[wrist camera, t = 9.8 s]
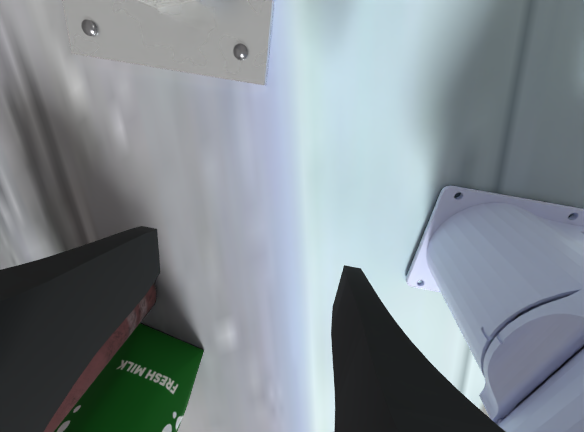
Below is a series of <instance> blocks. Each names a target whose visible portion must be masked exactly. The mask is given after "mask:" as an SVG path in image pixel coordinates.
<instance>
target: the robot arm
mask: <svg viewBox="0 0 584 432" xmlns="http://www.w3.org/2000/svg"><path fill="white" fill-rule="evenodd" d="M458 192H461V195H460V196H459V197H457V198H454V195H455V194H456V193H458ZM572 213H573V215H572V216H571V217H569V215H570V214H572ZM568 217H569V218H568ZM159 273H160V264H159V250H158V237H157V229H154V228H148V227H143V226H141V227H137V228H133V229H130V230H127V231H124V232H121V233H118V234H115V235H112V236H109V237H107V238H104V239H101V240H98V241H95V242H92V243H90V244H87V245H84V246H81V247H78V248H75V249H72V250H69V251H65V252H62V253H59V254H56V255H53V256H50V257H47V258H43V259H40V260H37V261H33V262H29V263H26V264H22V265H18V266H14V267H10V268H6V269H2V270H0V432H44V430H45V429H46V427H47V426H48V424H49V422H50V421H51V419H52V417H53V416H54V414H55V413H56V411H57V410H58V408H59V407H60V405H61V404H62V402H63V401H64V399H65V398H66V396H67V395H68V393H69V392H70V390H71V389H72V387H73V386H74V384H75V383H76V381H77V380H78V379H79V377H80V376H81V374H82V373H83V371H84V370H85V369H86V367H87V366H88V364H89V363H90V362H91V360H92V359H93V357H94V356H95V355H96V353H97V352H98V351H99V350H100V348H101V347H102V346H103V345H104V343H105V342H106V341H107V340H108V339H109V338H110V336H111V335H112V334H113V333H114V332H115V331H116V329H117V328H118V327H119V326H120V325H121V324H122V322H123V321H124V320H125V319H126V318H127V317H128V315H129V314H130V313H131V312H132V311H133V309H134V308H135V307H136V306H137V305H138V304H139V302H140V301H141V300H142V299H143V298H144V296H145V295H146V294H147V292H148V291H149V289H150V288H151V286H152V285H153V283H154V282H155V280H156V278H157V277H158V275H159ZM420 280H422V282H420V283H418V281H420ZM406 282H407V284H408V285H409V286H411V287H415V288H420V289H426V290H431V291H436V292H441V294H442V296H443V297H444V299H445V301H446V303H447V305H448V307H449V309H450V311H451V313H452V315H453V317H454V319H455V321H456V323H457V325H458V327H459V329H460V331H461V333H462V334H463V336H464V338H465V340H466V342H467V344H468V346H469V348H470V350H471V352H472V354H473V356H474V358H475V360H476V362H477V364H478V366H479V368H480V370H481V371H482V373H483V375H484V377H485V387H484V389H483V391H482V392H481V393H480V395H479V396H480V398H481V400H482V402H483V404H484V407H485V409H486V411H487V413H488V415H489V417H490V418H489V417H488V416H487V415H485V414H484V413H483V412H482V411H481V410H480V409H478V408H477V407H476V406H475V405H474V404H473V403H472V402H471V401H469V400H468V399H467V398H466V397H465V396H464V395H463V394H462V393H461V392H460V391H458V390H457V389H456V388H455V387H454V386H453V385H452V384H451V383H450V382H449V381H448V380H447V379H446V378H445V377H444V376H443V375H442V374H441V373H440V372H439V371H438V370H437V369H436V368H435V367H434V366H433V365H432V364H431V363H430V362H429V361H428V360H427V358H426V357H425V356H424V355H423V354H422V353H421V352H420V351H419V349H418V348H417V347H416V346H415V345H414V344H413V343H412V342H411V340H410V339H409V338H408V337H407V336H406V334H405V333H404V332H403V331H402V329H401V328H400V327H399V325H398V324H397V323H396V321H395V320H394V319H393V317H392V316H391V315H390V313H389V312H388V310H387V309H386V307H385V306H384V304H383V303H382V302H381V300H380V299H379V297H378V295H377V294H376V292H375V291H374V289H373V288H372V286H371V284H370V283H369V281H368V279H367V278H366V276H365V274H364V273H363V271H362V270H361V269H360V268H355V267H350V266H345V265H344V268H343V272H342V275H341V279H340V283H339V286H338V290H337V293H336V297H335V301H334V304H333V311H332V328H331V337H332V354H333V370H334V386H335V432H584V209H582V208H576V207H571V206H565V205H559V204H554V203H548V202H542V201H537V200H531V199H525V198H520V197H514V196H508V195H503V194H497V193H491V192H485V191H480V190H474V189H468V188H463V187H457V186H446V187H444V188H443V189H442V190H441V192H440V195H439V197H438V200H437V202H436V205H435V207H434V210H433V212H432V214H431V217H430V219H429V222H428V224H427V227H426V229H425V232H424V234H423V237H422V239H421V242H420V244H419V247H418V249H417V252H416V254H415V257H414V259H413V262H412V264H411V267H410V269H409V272H408V274H407V277H406Z"/></svg>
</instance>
